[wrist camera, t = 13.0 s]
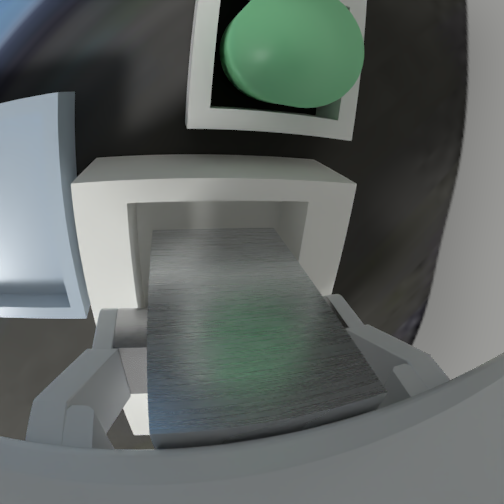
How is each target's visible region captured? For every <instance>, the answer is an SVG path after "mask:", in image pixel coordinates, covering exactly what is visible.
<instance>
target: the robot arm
mask: <svg viewBox="0 0 504 504" xmlns="http://www.w3.org/2000/svg"><path fill="white" fill-rule="evenodd" d="M323 298H324V299H325V301H326V302H327V303H328V305H329V306H330V308H331V309H332V311H333V312H334V313H335V315H336V316H337V318H338V319H339V321H340V322H341V324H342V325H343V326H344V328H345V329H346V331H347V332H348V334H349V335H350V337H351V338H352V340H353V341H354V343H355V344H356V345H357V347H358V348H359V350H360V351H361V353H362V354H363V356H364V357H365V359H366V360H367V362H368V363H369V365H370V366H371V368H372V369H373V371H374V372H375V374H376V375H377V377H378V378H379V380H380V381H381V383H382V384H383V386H384V387H385V389H386V390H387V392H388V393H387V394H386V396H385V398H384V399H383V401H382V402H381V404H380V406H379V407H378V409H376V410H373V411H370V412H367V413H364V414H361V415H358V416H354V417H351V418H348V419H344V420H341V421H337V422H333V423H330V424H326V425H322V426H318V427H314V428H310V429H306V430H301V431H297V432H292V433H288V434H283V435H278V436H273V437H267V438H261V439H256V440H249V441H243V442H236V443H228V444H220V445H211V446H201V447H189V448H174V449H149V450H118V449H114V447H113V446H112V444H111V442H110V440H109V438H108V437H107V435H106V433H107V432H108V430H109V429H110V427H111V425H112V424H113V422H114V421H115V419H116V418H117V416H118V415H119V413H120V412H121V410H122V409H123V407H124V406H125V404H126V403H127V401H128V400H129V398H130V397H131V394H144V393H148V392H147V315H148V308H119V309H118V308H102V309H101V310H100V312H99V316H98V321H97V326H96V331H95V336H94V341H93V346H92V349H86V350H85V351H84V352H83V353H82V354H81V355H80V356H79V357H78V358H77V359H76V360H75V361H74V362H73V363H72V364H70V365H69V366H68V367H67V368H66V369H65V370H64V371H63V372H62V373H61V374H60V375H59V376H58V377H57V378H56V379H55V380H54V381H53V382H52V383H51V384H50V385H49V386H47V387H46V388H45V389H44V390H43V391H42V392H41V393H40V394H39V395H38V396H37V397H36V398H35V399H34V400H33V404H32V409H31V413H30V418H29V423H28V428H27V433H26V439H25V441H23V440H17V439H12V438H7V437H2V436H0V504H504V353H502V354H500V355H498V356H497V357H495V358H493V359H491V360H490V361H488V362H486V363H484V364H482V365H480V366H478V367H476V368H474V369H472V370H470V371H468V372H466V373H465V374H462V375H460V376H458V377H456V378H454V379H452V380H450V379H449V378H448V377H447V375H446V374H445V373H444V372H443V370H442V369H441V368H440V367H439V365H438V364H437V363H436V362H435V361H434V359H433V358H432V357H431V356H430V355H429V354H427V353H425V352H423V351H421V350H419V349H417V348H415V347H413V346H411V345H409V344H407V343H405V342H403V341H401V340H399V339H397V338H395V337H393V336H391V335H389V334H387V333H384V332H382V331H380V330H378V329H376V328H374V327H372V326H370V325H364V324H363V323H362V322H361V320H360V319H359V318H358V316H357V315H356V314H355V312H354V311H353V310H352V308H351V307H350V306H349V305H348V303H347V302H346V301H345V299H344V298H343V297H342V296H341V295H339V294H333V295H325V296H323Z"/></svg>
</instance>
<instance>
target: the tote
mask: <svg viewBox="0 0 504 504" xmlns="http://www.w3.org/2000/svg"><path fill="white" fill-rule="evenodd" d="M76 178H77V169H76V151H75V91H73V92H56V93H50V94H44V95H38V96H33V97H28V98H23V99H18V100H13V101H9V102H4V103H0V317H10V318H60V319H81V318H87V315H88V311H89V307H90V299H89V295H88V291H87V286H86V281H85V277H84V272H83V267H82V261H81V256H80V250H79V244H78V238H77V232H76V225H75V218H74V210H73V201H72V192H71V183H72V182H73V181H74V180H75V179H76Z"/></svg>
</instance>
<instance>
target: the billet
mask: <svg viewBox="0 0 504 504" xmlns="http://www.w3.org/2000/svg"><path fill="white" fill-rule="evenodd" d="M147 392H148V417H149V434H150V437H151V440H152V443H153V446H154V449H174V448H189V447H201V446H211V445H220V444H228V443H236V442H243V441H249V440H256V439H261V438H267V437H273V436H278V435H283V434H288V433H292V432H297V431H301V430H306V429H310V428H314V427H318V426H322V425H326V424H330V423H333V422H337V421H341V420H344V419H348V418H351V417H354V416H358V415H361V414H364V413H367V412H370V411H373V410H376V409H378V407H379V406H380V404H381V402H382V401H383V399H384V398H385V396H386V394H387V393H388V392H387V390H386V389H385V387H384V386H383V384H382V383H381V381H380V380H379V378H378V377H377V375H376V374H375V372H374V371H373V369H372V368H371V366H370V365H369V363H368V362H367V360H366V359H365V357H364V356H363V354H362V353H361V351H360V350H359V348H358V347H357V345H356V344H355V343H354V341H353V340H352V338H351V337H350V335H349V334H348V332H347V331H346V329H345V328H344V326H343V325H342V324H341V322H340V321H339V319H338V318H337V316H336V315H335V313H334V312H333V311H332V309H331V308H330V306H329V305H328V303H327V302H326V301H325V299H324V298H323V296H322V295H321V293H320V292H319V291H318V289H317V288H316V286H315V285H314V283H313V282H312V281H311V279H310V278H309V276H308V275H307V274H306V272H305V271H304V269H303V268H302V267H301V265H300V264H299V262H298V261H297V260H296V258H295V257H294V255H293V254H292V253H291V251H290V250H289V249H288V247H287V246H286V244H285V243H284V242H283V240H282V239H281V237H280V236H279V235H278V233H277V232H276V231H275V229H274V228H214V229H173V230H153V232H152V243H151V256H150V271H149V289H148V315H147Z"/></svg>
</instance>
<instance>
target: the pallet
mask: <svg viewBox="0 0 504 504" xmlns="http://www.w3.org/2000/svg"><path fill="white" fill-rule="evenodd" d="M356 186H357V184H356V183H354V182H353V181H351V180H349V179H348V178H346V177H344V176H343V175H341V174H339V173H337V172H336V171H334V170H332V169H330V168H329V167H327V166H325V165H323V164H321V163H320V162H318V161H316V160H314V159H304V158H290V157H273V156H253V155H219V154H168V155H135V156H115V157H100V158H96V159H95V160H94V161H93V162H92V163H91V164H90V165H89V166H88V167H87V168H86V169H85V170H84V171H83V172H82V173H81V174H80V175H79V176H78V177H77V178H76V179H75V180H74V181H73V182H72V183H71V192H72V201H73V210H74V218H75V225H76V232H77V238H78V244H79V250H80V256H81V261H82V267H83V272H84V277H85V281H86V286H87V291H88V295H89V299H90V303H91V308H92V312H93V316H94V319H95V323H96V326H97V321H98V316H99V312H100V310H101V309H102V308H118V309H119V308H148V289H149V271H150V256H151V243H152V232H153V230H173V229H214V228H274V229H275V231H276V232H277V233H278V235H279V236H280V237H281V239H282V240H283V242H284V243H285V244H286V246H287V247H288V249H289V250H290V251H291V253H292V254H293V255H294V257H295V258H296V260H297V261H298V262H299V264H300V265H301V267H302V268H303V269H304V271H305V272H306V274H307V275H308V276H309V278H310V279H311V281H312V282H313V283H314V285H315V286H316V288H317V289H318V291H319V292H320V293H321V295H322V296H325V295H331V294H332V290H333V286H334V282H335V279H336V275H337V271H338V267H339V263H340V259H341V255H342V250H343V246H344V242H345V238H346V233H347V229H348V224H349V220H350V215H351V211H352V206H353V201H354V196H355V191H356ZM123 409H124V412H125V414H126V417H127V419H128V422H129V424H130V427H131V429H132V431H133V434H134V435H150V434H149V417H148V393H144V394H131V397H130V398H129V400H128V401H127V403H126V404H125V406H124V407H123Z"/></svg>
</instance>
